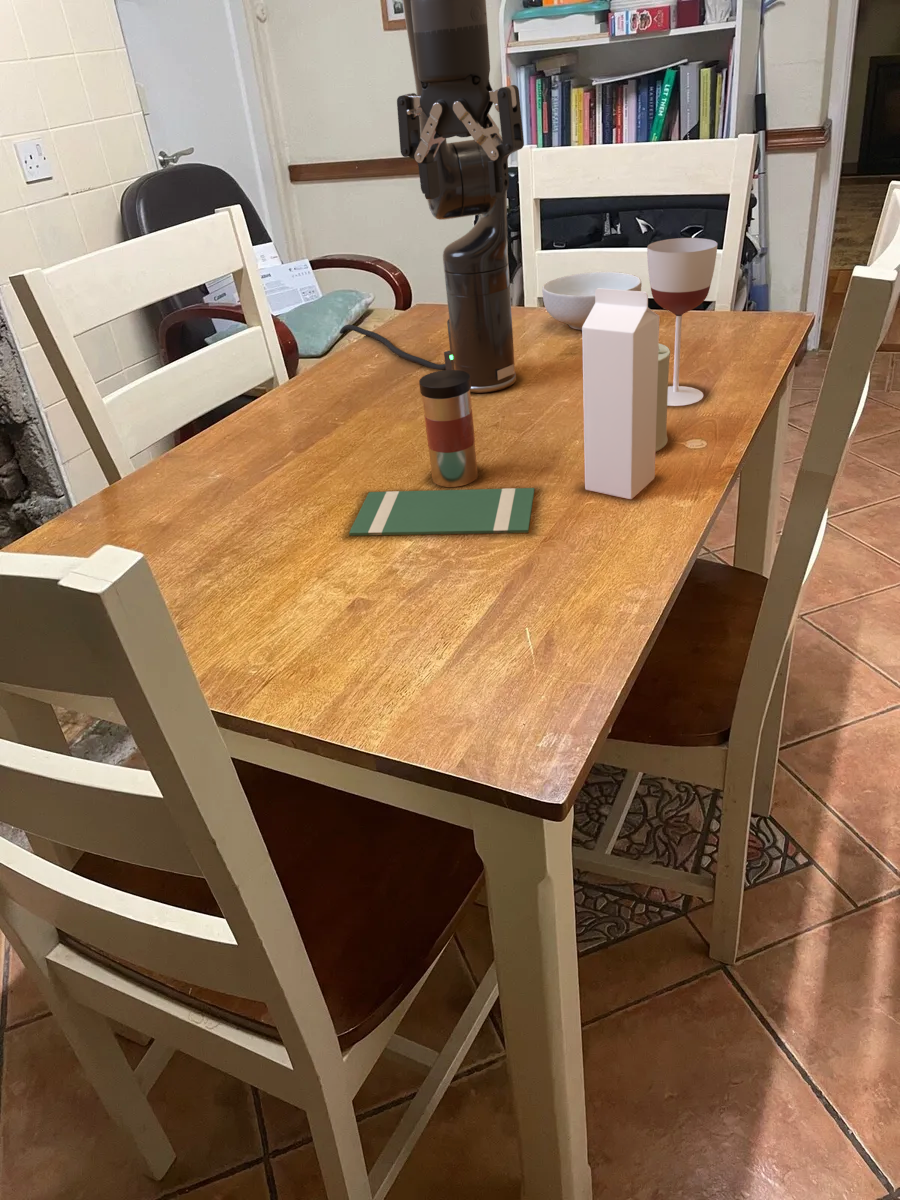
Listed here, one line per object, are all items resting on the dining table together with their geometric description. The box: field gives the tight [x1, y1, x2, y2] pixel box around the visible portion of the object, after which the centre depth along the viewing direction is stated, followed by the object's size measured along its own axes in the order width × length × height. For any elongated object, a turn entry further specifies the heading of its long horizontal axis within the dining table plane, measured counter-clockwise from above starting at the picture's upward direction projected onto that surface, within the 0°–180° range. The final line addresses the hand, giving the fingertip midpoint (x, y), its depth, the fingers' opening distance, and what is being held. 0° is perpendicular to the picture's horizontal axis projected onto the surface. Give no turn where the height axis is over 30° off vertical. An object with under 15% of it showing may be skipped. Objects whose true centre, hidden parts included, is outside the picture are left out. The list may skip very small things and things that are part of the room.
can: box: [655, 342, 671, 453], centre depth 107 cm, size 9×9×12 cm
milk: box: [581, 288, 660, 500], centre depth 95 cm, size 6×6×22 cm
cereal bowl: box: [541, 271, 642, 331], centre depth 152 cm, size 17×17×7 cm
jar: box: [418, 370, 479, 488], centre depth 104 cm, size 6×6×12 cm
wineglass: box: [646, 237, 718, 407], centre depth 116 cm, size 8×9×20 cm
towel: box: [348, 487, 536, 537], centre depth 99 cm, size 10×20×1 cm, turn 81°
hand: (464, 197), depth 97 cm, fingers open, 8 cm apart
